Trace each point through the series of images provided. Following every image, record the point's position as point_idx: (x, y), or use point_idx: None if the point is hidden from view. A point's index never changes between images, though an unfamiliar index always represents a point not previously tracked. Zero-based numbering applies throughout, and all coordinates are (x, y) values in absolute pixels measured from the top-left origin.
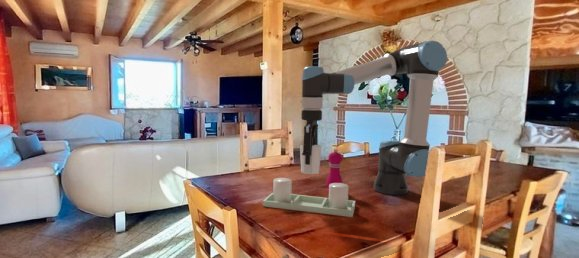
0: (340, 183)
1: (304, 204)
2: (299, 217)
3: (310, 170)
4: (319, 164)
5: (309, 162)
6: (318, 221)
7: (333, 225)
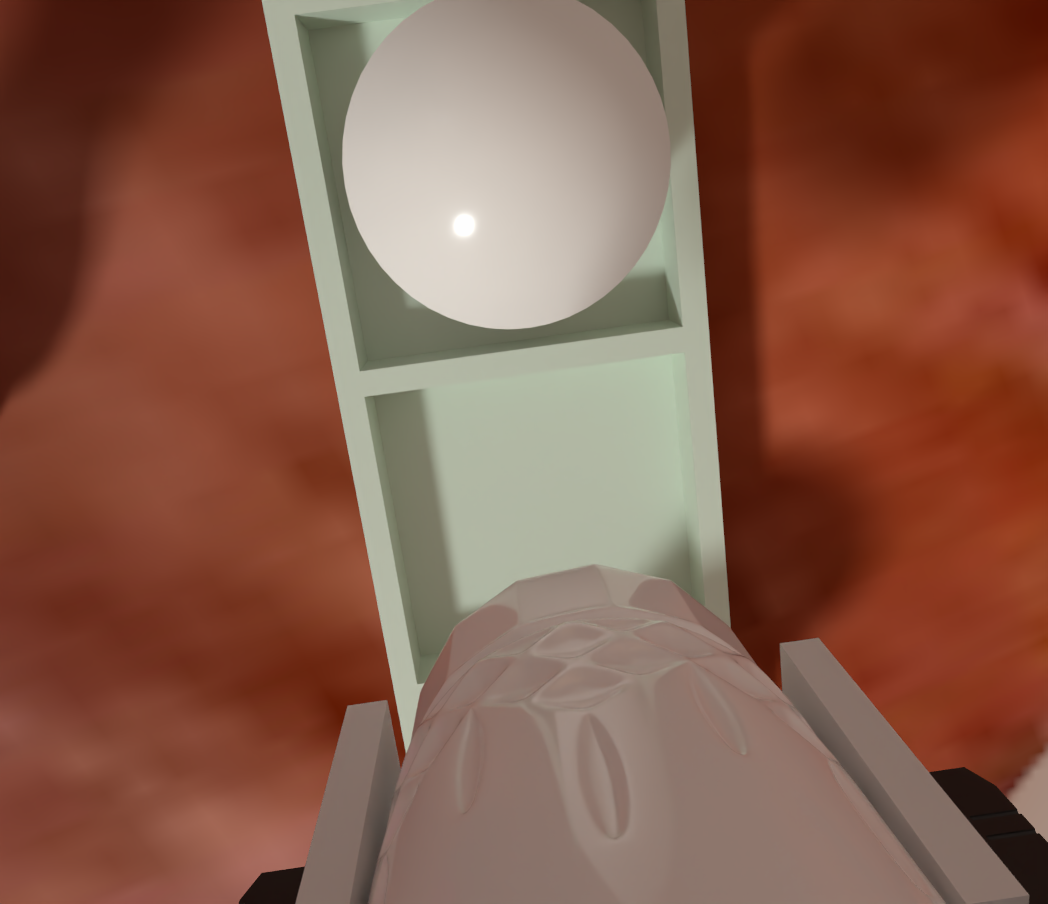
0: (366, 170)
1: (519, 566)
2: (821, 491)
3: (841, 681)
4: (614, 629)
5: (960, 802)
6: (852, 293)
7: (899, 121)
